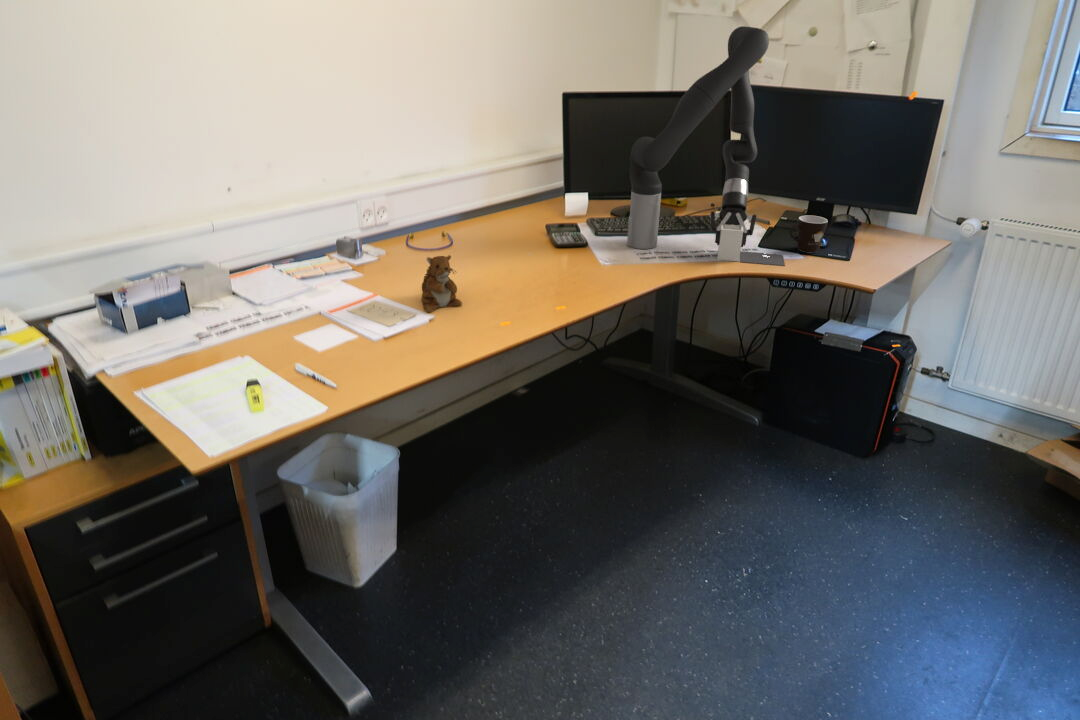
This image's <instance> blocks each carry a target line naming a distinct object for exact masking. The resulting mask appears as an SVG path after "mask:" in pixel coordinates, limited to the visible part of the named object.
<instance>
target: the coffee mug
mask: <svg viewBox="0 0 1080 720" xmlns="http://www.w3.org/2000/svg"><path fill="white" fill-rule="evenodd" d="M828 223H829V221H828V219H827V218H825V217H822V216H817V215H807V214H806V215H801V216H799V217H798V224H795V225H792V226H791V227H790V229H789V235H790V237H791V238H792V239H793V240H794V241H795V242H797V245H796V249H797V248H798V249H799V250H802V251H805V252H815V251H818V250H819V251H820V248H821V244H822V242H823V241H822V240H823V238H824V235H825V232H826V229H827V225H828ZM794 228H797V229H798V230H797V238H796V237H795V236H793V232H792V231H793V229H794ZM819 251H818V252H819Z"/></svg>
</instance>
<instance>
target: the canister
mask: <svg viewBox="0 0 1080 720" xmlns="http://www.w3.org/2000/svg"><path fill="white" fill-rule="evenodd" d="M742 237H743V226H742V227H741V230H740V225H730V224H729V225H728V224H725V226H724V228H723V225H721V234H720V243H719V245H718V249H717V260H719V261H728V260H729V262H730V261H732V262H740V251H742V250H741V249H742V247H741V244H742Z"/></svg>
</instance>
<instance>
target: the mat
mask: <svg viewBox="0 0 1080 720" xmlns="http://www.w3.org/2000/svg"><path fill="white" fill-rule="evenodd" d="M764 253H766V252H754V251H743V250H741V251H740V258H739V262H740V263H744V264H745V263H746V264H755V263H756V264H757V265H767V264H769V265H770V266H771V265H772V266H779V265H780V267H781V266H782V267H785V266H786V264H785V257H784V254H780V253H779V254H777V253H768V252H767V253H766V254H764ZM762 255H767V256H770V257H768V258H767V257H763V256H762Z"/></svg>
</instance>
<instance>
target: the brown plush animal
mask: <svg viewBox="0 0 1080 720" xmlns="http://www.w3.org/2000/svg"><path fill="white" fill-rule="evenodd" d="M451 259H452V256H451V255H449V254H448V255H447V256H445V255H438V256H434V257H429V256H427V257H426V261H427V263H428V264H429V266H428V267H427V269H426V273H425V274H424V277H423V281H422V284H421V291H422V293H421V303H422V307H423V309H424V311H425V312H426V313H427V314H428V313H432V312H433V311H435V310H436V309H437V308H444V307H447V306H448V307H461V306H462V305H463V302H462V301H461V300H460V299H458V298H456V297H457V295H456V293H457V292H458V287H457V284H456V283H455V282H454V280H453V279H451V278H450V277H449V276H450V274H451V272H452V274H453V275H455V273H456V274H457V271H456V270H455V269H453V268H451V266H450V260H451Z"/></svg>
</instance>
